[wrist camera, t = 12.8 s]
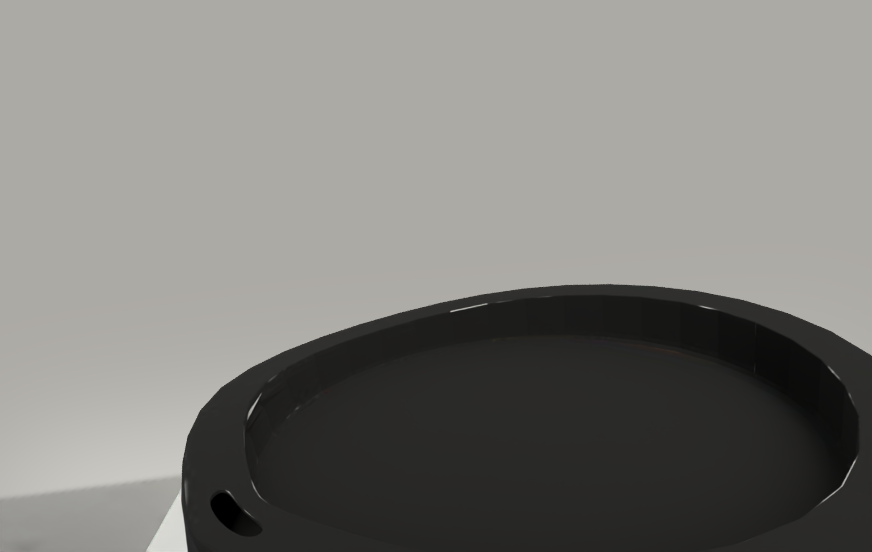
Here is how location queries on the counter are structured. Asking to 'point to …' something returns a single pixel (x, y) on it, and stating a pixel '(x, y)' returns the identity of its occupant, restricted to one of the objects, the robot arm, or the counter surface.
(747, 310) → the coffee cup
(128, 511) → the counter surface
